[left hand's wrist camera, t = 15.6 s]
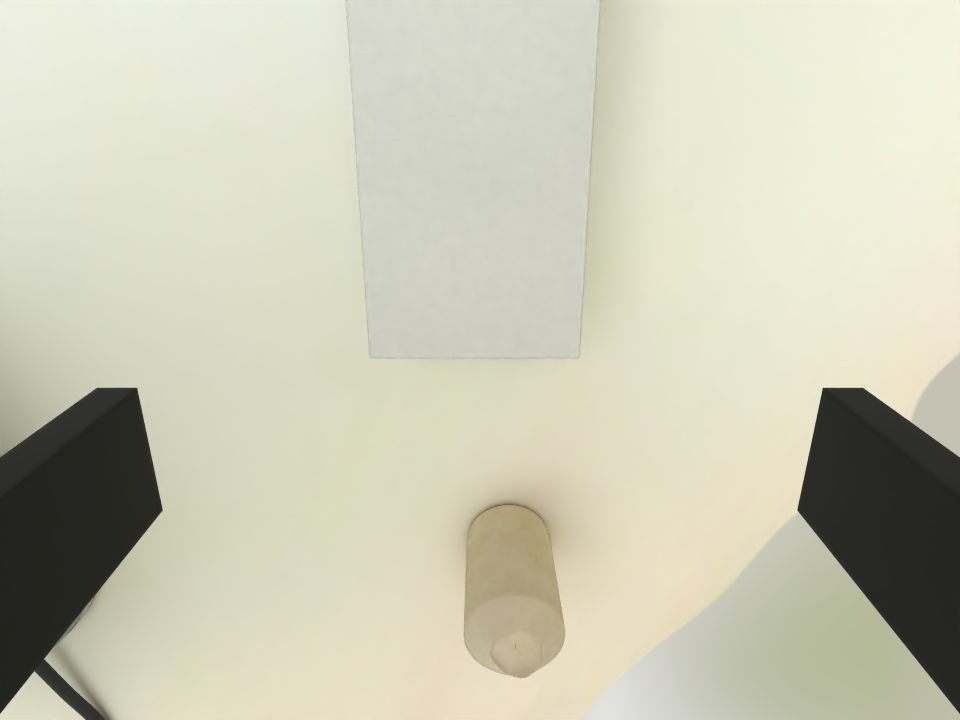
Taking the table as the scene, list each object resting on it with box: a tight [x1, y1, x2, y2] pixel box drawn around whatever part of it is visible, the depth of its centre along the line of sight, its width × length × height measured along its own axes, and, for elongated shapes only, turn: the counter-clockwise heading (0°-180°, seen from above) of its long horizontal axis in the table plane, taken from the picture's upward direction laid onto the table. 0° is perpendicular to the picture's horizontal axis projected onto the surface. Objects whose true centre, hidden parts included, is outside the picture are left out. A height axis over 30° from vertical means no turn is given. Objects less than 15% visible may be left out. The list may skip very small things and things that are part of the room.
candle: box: [464, 505, 565, 678], centre depth 38 cm, size 6×6×10 cm
